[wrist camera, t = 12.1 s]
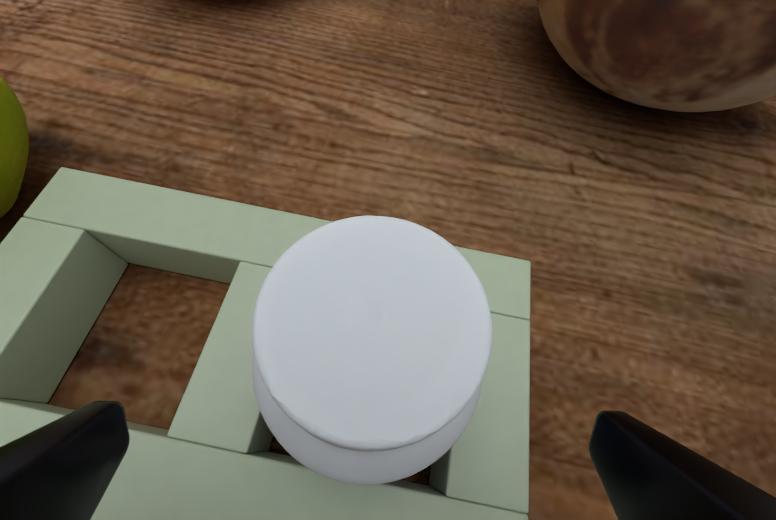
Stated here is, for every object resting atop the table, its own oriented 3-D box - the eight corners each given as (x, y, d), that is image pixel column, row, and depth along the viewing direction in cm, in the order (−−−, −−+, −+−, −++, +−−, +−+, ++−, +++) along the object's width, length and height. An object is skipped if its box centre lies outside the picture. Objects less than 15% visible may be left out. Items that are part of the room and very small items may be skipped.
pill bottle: (457, 384, 15) (596, 307, 6) (368, 500, 13) (388, 624, 4) (363, 300, 16) (369, 139, 8) (269, 392, 14) (130, 318, 6)
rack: (490, 587, 12) (529, 628, 9) (-67, 465, 12) (-182, 472, 10) (504, 288, 17) (531, 260, 14) (105, 207, 17) (59, 165, 15)
